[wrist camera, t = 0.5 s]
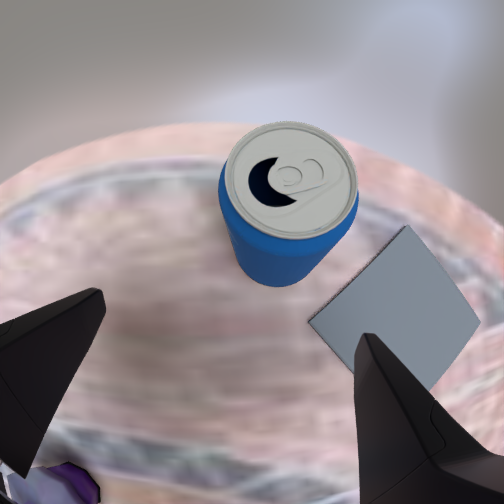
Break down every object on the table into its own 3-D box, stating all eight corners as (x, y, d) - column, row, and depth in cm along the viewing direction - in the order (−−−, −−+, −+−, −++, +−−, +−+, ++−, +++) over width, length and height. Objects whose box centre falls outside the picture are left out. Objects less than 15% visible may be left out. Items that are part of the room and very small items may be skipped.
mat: (477, 322, 21) (480, 322, 21) (395, 421, 20) (398, 423, 19) (405, 226, 24) (408, 224, 23) (308, 322, 22) (309, 322, 22)
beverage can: (225, 222, 24) (198, 135, 13) (300, 199, 25) (329, 103, 13) (250, 299, 23) (241, 272, 11) (328, 272, 23) (391, 221, 11)
